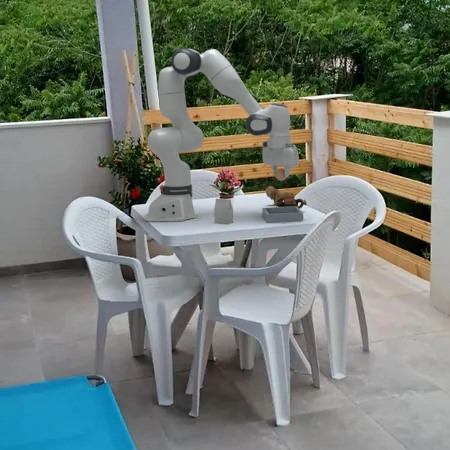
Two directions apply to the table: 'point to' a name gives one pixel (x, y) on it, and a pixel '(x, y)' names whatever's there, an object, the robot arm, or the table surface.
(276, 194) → the lion figurine
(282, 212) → the gray square tray
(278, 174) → the rubber ball
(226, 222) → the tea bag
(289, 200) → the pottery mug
